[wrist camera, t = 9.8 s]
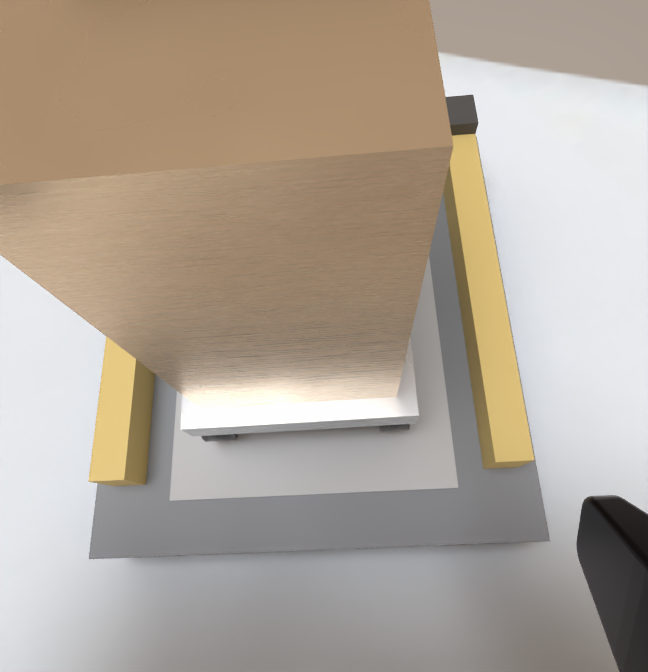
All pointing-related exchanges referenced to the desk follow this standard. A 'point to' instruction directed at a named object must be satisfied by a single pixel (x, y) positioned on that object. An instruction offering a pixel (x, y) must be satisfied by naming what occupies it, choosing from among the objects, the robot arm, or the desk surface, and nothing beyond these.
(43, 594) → the desk surface
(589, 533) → the robot arm
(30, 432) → the desk surface
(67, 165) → the trolley
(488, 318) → the dock
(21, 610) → the desk surface
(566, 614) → the desk surface
